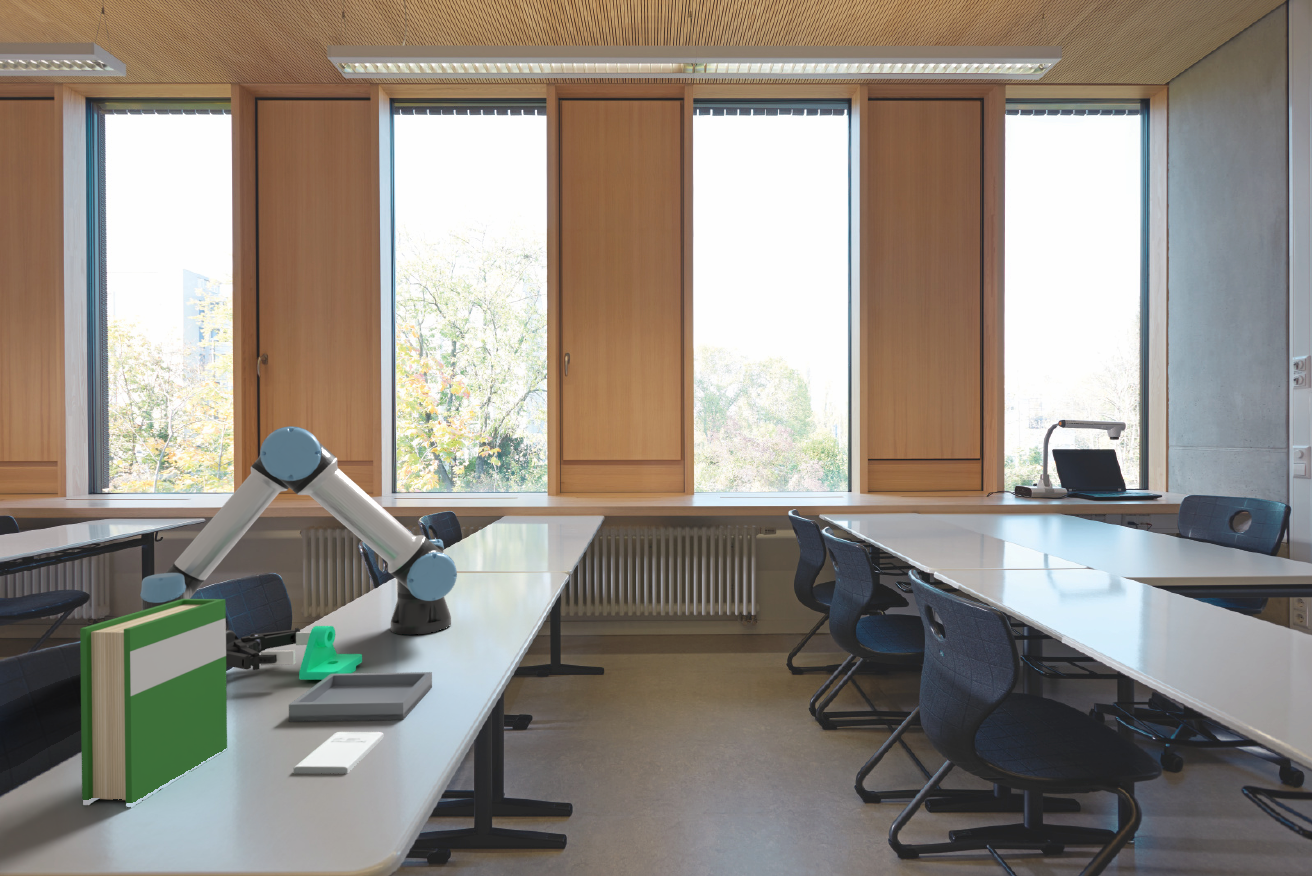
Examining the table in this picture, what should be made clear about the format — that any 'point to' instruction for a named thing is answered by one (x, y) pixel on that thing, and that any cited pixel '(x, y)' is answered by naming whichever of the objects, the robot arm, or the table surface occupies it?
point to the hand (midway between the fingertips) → (311, 647)
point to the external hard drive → (339, 753)
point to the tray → (361, 697)
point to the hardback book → (152, 697)
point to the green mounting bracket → (325, 656)
